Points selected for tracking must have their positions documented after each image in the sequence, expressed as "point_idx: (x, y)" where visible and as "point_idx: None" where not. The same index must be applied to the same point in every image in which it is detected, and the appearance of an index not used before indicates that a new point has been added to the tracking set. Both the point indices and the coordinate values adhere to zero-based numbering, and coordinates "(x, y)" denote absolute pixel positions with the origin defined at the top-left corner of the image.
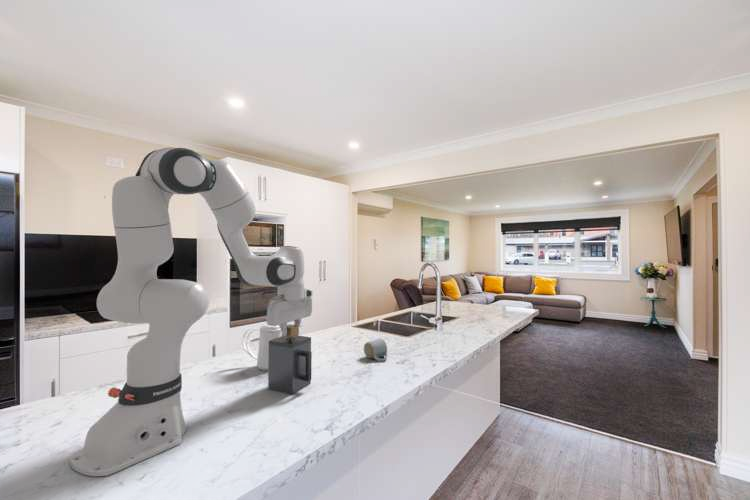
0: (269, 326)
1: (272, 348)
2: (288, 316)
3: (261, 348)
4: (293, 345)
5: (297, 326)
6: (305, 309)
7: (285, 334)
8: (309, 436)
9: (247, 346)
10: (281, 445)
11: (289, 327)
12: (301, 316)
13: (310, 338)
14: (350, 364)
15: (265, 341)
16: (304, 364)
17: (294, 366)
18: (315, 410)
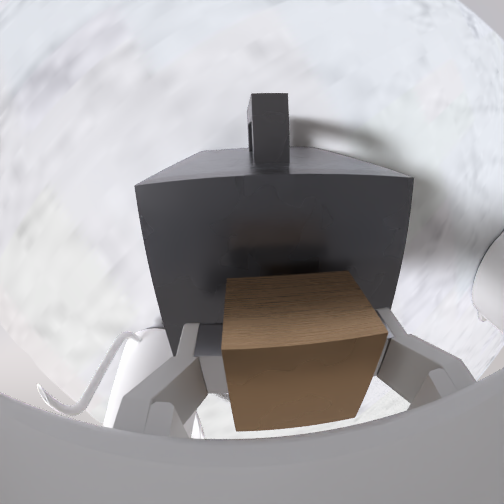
0: None
1: None
2: (500, 446)
3: (195, 411)
4: (401, 175)
5: (257, 342)
6: (8, 502)
7: (392, 317)
8: (441, 14)
9: (198, 438)
10: (478, 54)
11: (372, 361)
12: (124, 459)
13: (146, 182)
14: (13, 164)
15: (187, 424)
16: (242, 155)
17: (332, 155)
18: (360, 30)
